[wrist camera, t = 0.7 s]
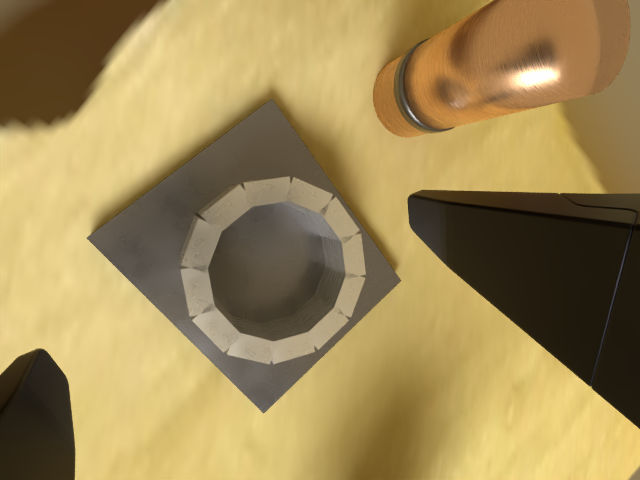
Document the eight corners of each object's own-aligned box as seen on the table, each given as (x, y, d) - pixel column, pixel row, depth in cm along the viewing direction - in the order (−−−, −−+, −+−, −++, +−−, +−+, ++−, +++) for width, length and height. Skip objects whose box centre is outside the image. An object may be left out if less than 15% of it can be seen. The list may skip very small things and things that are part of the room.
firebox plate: (393, 277, 27) (428, 291, 23) (260, 405, 24) (276, 442, 21) (267, 102, 22) (287, 84, 19) (90, 235, 20) (72, 245, 16)
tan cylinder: (451, 109, 27) (647, 51, 16) (399, 154, 26) (571, 125, 15) (413, 41, 25) (603, -78, 14) (356, 86, 24) (514, -5, 13)
